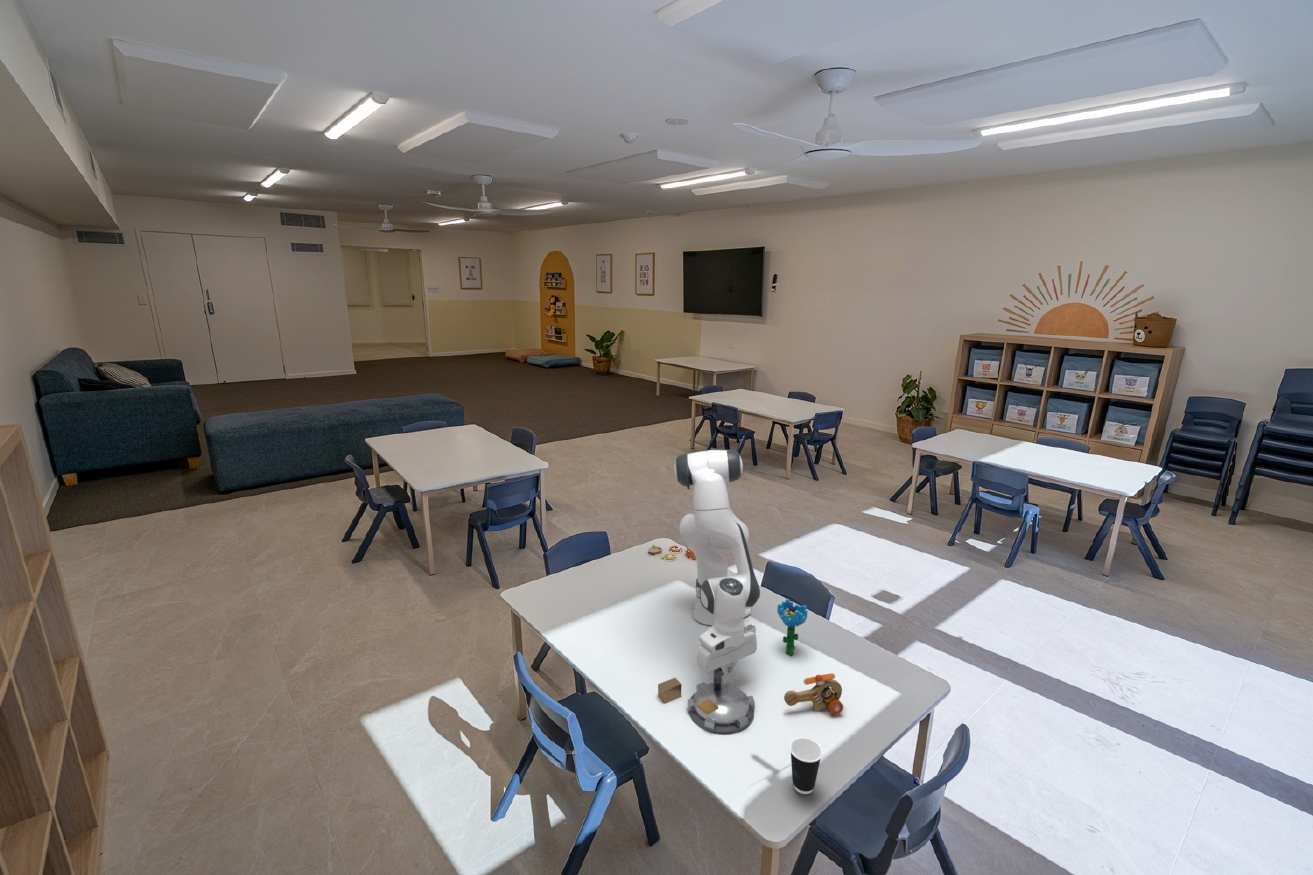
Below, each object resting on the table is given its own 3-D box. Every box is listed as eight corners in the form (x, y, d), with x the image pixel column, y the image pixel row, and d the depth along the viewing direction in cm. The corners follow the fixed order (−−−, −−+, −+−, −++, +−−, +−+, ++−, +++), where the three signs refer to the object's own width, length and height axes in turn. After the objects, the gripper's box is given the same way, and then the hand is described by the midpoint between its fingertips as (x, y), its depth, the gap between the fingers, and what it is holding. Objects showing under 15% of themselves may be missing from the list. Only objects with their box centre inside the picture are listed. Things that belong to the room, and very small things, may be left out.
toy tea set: (699, 550, 276) (700, 531, 274) (709, 564, 261) (709, 544, 259) (646, 554, 270) (646, 535, 268) (652, 569, 256) (652, 549, 253)
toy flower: (784, 642, 201) (787, 595, 197) (808, 653, 195) (811, 604, 191) (770, 654, 194) (773, 605, 190) (794, 665, 189) (798, 615, 184)
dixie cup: (781, 787, 141) (783, 749, 139) (796, 768, 147) (799, 732, 144) (810, 805, 136) (813, 766, 134) (825, 785, 142) (828, 747, 139)
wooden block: (675, 691, 176) (675, 677, 175) (681, 698, 173) (681, 683, 172) (658, 698, 173) (658, 683, 172) (664, 705, 170) (664, 690, 169)
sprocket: (722, 677, 180) (723, 655, 178) (767, 713, 165) (768, 688, 163) (676, 699, 170) (676, 676, 168) (718, 739, 155) (719, 714, 153)
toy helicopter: (845, 713, 167) (849, 678, 164) (789, 722, 163) (791, 686, 160) (833, 697, 173) (836, 663, 170) (779, 706, 170) (781, 671, 167)
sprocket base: (726, 681, 180) (727, 678, 180) (767, 718, 164) (767, 715, 164) (675, 702, 171) (675, 699, 171) (713, 743, 155) (713, 740, 155)
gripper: (748, 617, 178) (746, 657, 182) (694, 637, 168) (693, 679, 171) (762, 627, 173) (760, 667, 176) (708, 649, 162) (706, 691, 166)
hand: (727, 673), depth 174 cm, fingers closed
